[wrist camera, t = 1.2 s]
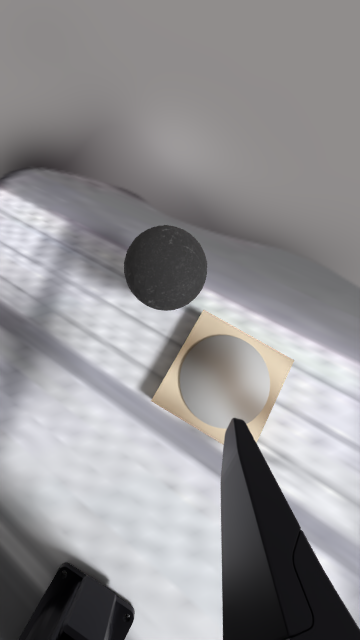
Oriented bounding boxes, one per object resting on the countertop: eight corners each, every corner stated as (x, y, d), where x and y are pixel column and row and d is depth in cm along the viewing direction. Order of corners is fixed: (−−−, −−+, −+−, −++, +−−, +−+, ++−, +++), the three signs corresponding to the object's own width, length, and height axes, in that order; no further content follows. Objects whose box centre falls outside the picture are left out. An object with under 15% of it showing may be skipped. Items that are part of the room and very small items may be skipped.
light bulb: (134, 276, 25) (111, 210, 15) (191, 269, 25) (204, 200, 15) (141, 333, 23) (121, 301, 14) (200, 324, 24) (222, 287, 14)
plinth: (243, 454, 21) (249, 460, 20) (152, 399, 22) (150, 401, 20) (286, 361, 23) (295, 360, 22) (201, 313, 24) (203, 308, 22)
